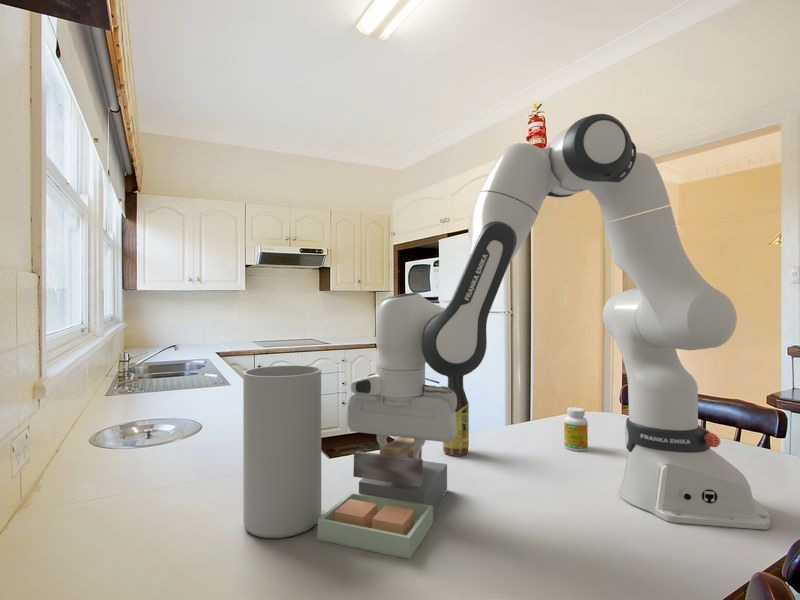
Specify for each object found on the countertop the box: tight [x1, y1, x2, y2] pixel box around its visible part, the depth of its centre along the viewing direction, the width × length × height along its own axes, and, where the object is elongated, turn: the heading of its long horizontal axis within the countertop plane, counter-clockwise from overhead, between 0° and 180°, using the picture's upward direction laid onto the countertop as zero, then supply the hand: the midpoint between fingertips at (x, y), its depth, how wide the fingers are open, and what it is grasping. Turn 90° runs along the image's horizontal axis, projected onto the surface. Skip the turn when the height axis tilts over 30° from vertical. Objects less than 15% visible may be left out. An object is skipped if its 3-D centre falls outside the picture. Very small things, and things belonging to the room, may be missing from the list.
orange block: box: [335, 499, 377, 528], centre depth 73 cm, size 5×5×3 cm
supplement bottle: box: [563, 406, 589, 452], centre depth 113 cm, size 5×5×10 cm
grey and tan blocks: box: [352, 437, 424, 487], centre depth 82 cm, size 12×13×5 cm
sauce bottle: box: [442, 376, 470, 456], centre depth 110 cm, size 7×6×20 cm
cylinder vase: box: [242, 365, 322, 539], centre depth 76 cm, size 12×12×25 cm
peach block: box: [372, 505, 414, 535], centre depth 71 cm, size 5×5×3 cm
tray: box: [317, 491, 434, 560], centre depth 72 cm, size 15×11×3 cm
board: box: [358, 460, 448, 510], centre depth 84 cm, size 12×14×5 cm
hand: (400, 460), depth 82 cm, fingers closed on grey and tan blocks, 3 cm apart
